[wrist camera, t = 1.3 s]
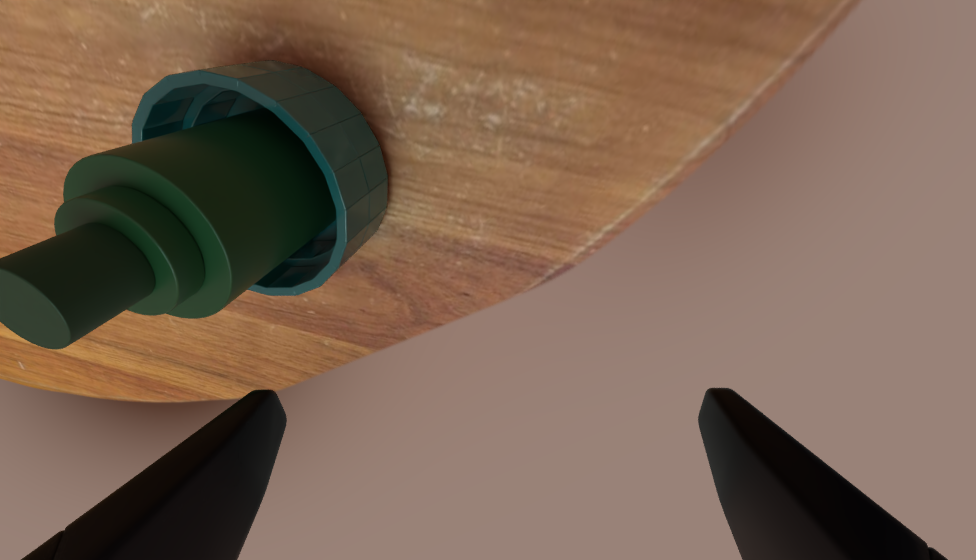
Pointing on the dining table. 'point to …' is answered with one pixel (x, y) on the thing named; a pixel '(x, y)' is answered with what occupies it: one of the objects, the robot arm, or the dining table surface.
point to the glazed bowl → (316, 121)
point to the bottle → (167, 228)
